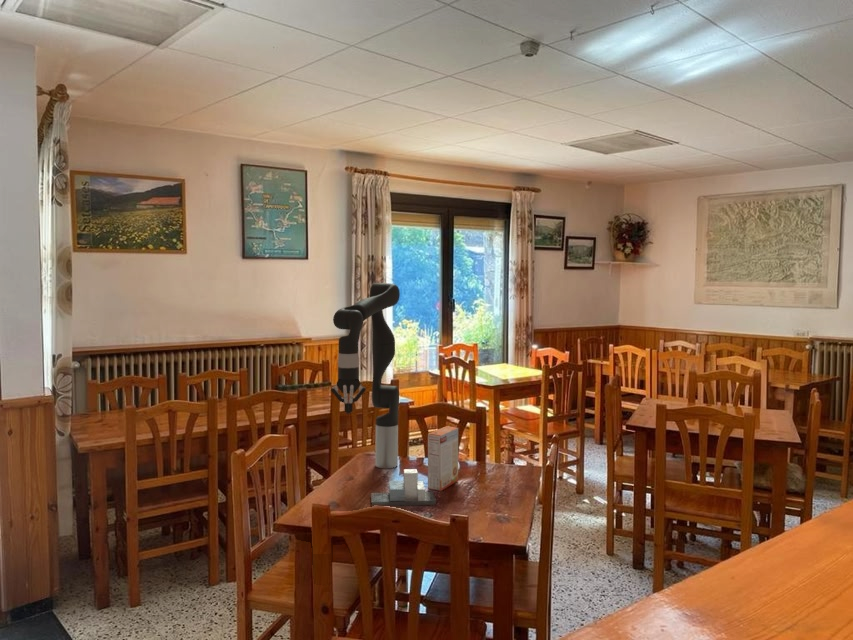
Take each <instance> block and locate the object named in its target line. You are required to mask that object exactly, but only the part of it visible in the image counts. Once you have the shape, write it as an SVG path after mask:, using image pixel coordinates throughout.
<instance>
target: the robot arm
mask: <svg viewBox="0 0 853 640" xmlns="http://www.w3.org/2000/svg"><path fill="white" fill-rule="evenodd" d="M400 294H401V293H400V289H399V286H398V285H397V284H395V283H388V282H386V283H385V282H374V283H373V284H372V285H371V286H370V289H369V297H366V298H363V299H360V300H359V301H357V302H355V303H354V304H352V305H348V306H345V307H341V308H339V309H338V310H337V311H336V312H335V313H334V315H333V319H332V321H333V325H334V327H336V328H337V329H339V330H347V331H348V330H349V333H348V335H344V336H340V337H339V339H338V356H337V381H336V385H334V386H332V387H331V388H330V391H331V392H332V394H333V395H334V396H335V397H336V399H337V400H338V401H339V402H340V403H344V412H345V413H346V414H347V415H348V414H349V415H351V413H352V412H353V408H354V406H353V405H354V403H355V402H356V403H357V402H358V401H359V399H361V397H362V396H363V394H365V391H366V389H367V388H366V386H364V385H362V384H361V381H360V357H359V340H360V335H361V332H362V328H363V326H364V325H363V324H364V321H366V320H368V319H369V318H371V331H372V332H371V334H372V336H371V347H372V348H371V351H372V383H371V384H372V387H371V388H372V389H371V403H372V406H373V407H374V408H379V409H381V408H382V409H389V411H388V412H387V413H385V414H381V415H378V416H377V417H376V418H375V448H374V449H375V450H374V451H375V457H374V458H375V463H374V465H375V467H376V468H379V469H393V467H394V468H396V466H397V465H398V464H399V457H398V456H399V410H400V408H399V405H400V389H399V387H398V386H397V385H387V384H386V385H382V380H383V377H384V374H385V372H386V370H387V369H388V367H389V365H390V364H391V362H392V361H393V359H394V358H395V354H396V338H395V335H394V334H393V332H392V331H393V330H392V329H391V328H390V327H389V324H388V323H387V321H386V319H385V316H384V311H383V310H385V309H387V308H392V307H393V306H396V305H397V304H398V302H399V301H400ZM339 390H340V392H341V393H342V394H343V396H342V394H340V393H339ZM356 391H358V393H357V394H356V395H355V397H354V394H355V393H356ZM348 394H349V395H348ZM348 396H349V397H348ZM397 467H398V466H397Z"/></svg>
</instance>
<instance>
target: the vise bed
mask: <svg viewBox="0 0 853 640" xmlns="http://www.w3.org/2000/svg"><path fill="white" fill-rule="evenodd" d="M370 501H371V502H370V503H372V505H371V507H375V506H374V505H388V506H387V507H396V506H397V507H401V506H403V505H404V506H405V507H406V506H408V505H410V506H435V505H437V498H436V496H435V493H434V491H426V487H425V485H424V481H423V480H418V489H417V499H405V501H390V497H389V492H371V493H370ZM404 506H403V507H404Z"/></svg>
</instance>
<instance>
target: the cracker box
mask: <svg viewBox="0 0 853 640" xmlns="http://www.w3.org/2000/svg"><path fill="white" fill-rule="evenodd" d="M458 481H459V427H455V426H454V427H453V426H448V425H447V426H444V427H441V428H439V429H436V430H434V431H431V432H428V433H427V489H429V490H433V491H438V492H442V491H443V490H445V489H447V488H448V487H450V486H451V485H453V484H455V483H457V482H458Z"/></svg>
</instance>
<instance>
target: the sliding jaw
mask: <svg viewBox="0 0 853 640" xmlns="http://www.w3.org/2000/svg"><path fill="white" fill-rule="evenodd" d="M388 493H389V497H390V501H405V487H404V480H388Z"/></svg>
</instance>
